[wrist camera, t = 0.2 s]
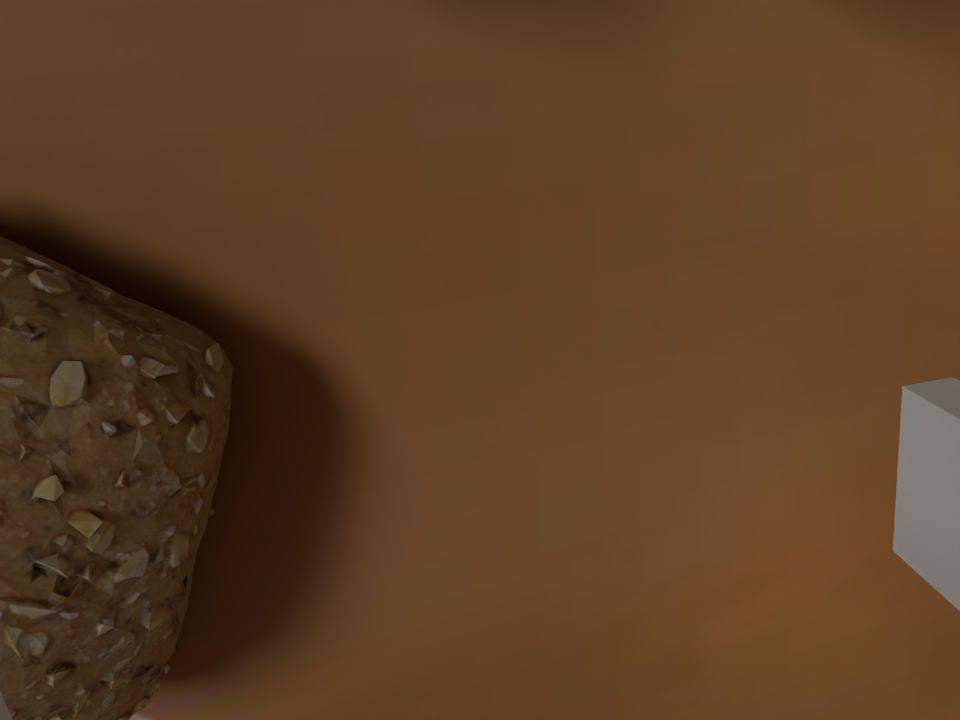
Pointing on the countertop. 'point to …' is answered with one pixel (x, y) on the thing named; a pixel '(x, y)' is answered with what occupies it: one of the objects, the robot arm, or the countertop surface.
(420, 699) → the countertop surface
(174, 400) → the bread
